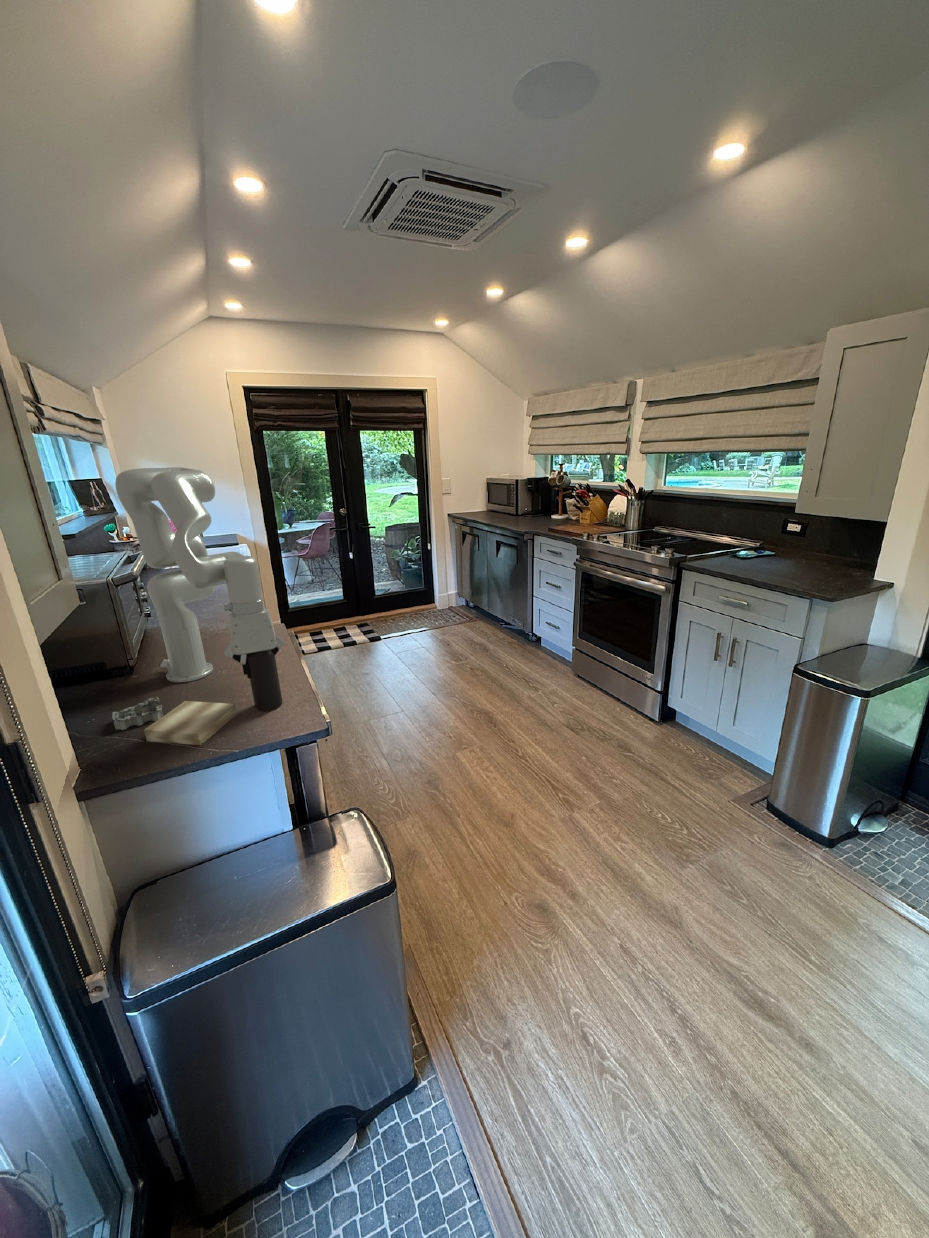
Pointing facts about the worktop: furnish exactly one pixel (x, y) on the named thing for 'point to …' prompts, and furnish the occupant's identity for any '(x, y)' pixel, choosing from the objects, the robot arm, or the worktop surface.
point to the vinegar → (264, 680)
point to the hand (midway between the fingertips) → (259, 673)
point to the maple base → (191, 723)
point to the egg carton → (142, 709)
